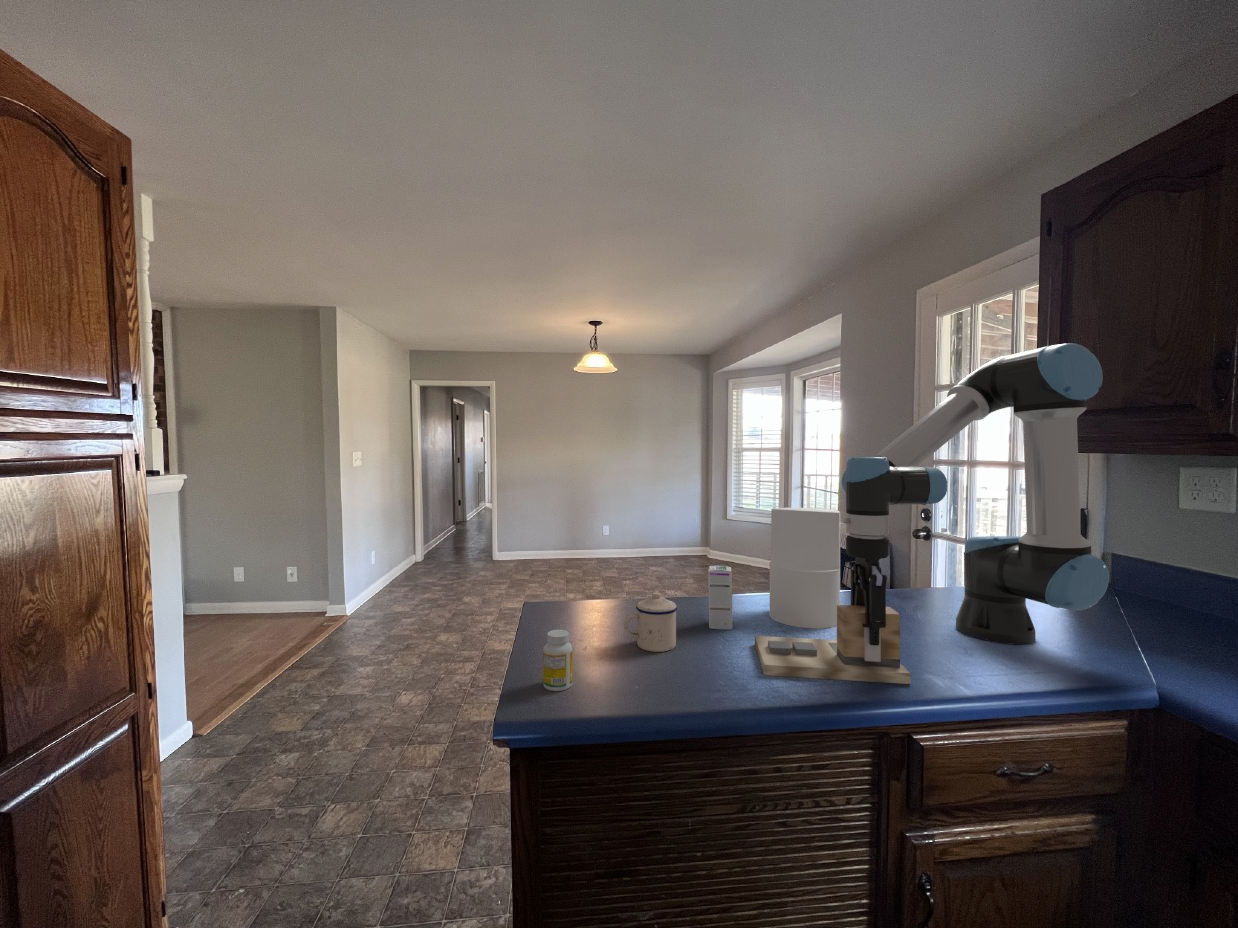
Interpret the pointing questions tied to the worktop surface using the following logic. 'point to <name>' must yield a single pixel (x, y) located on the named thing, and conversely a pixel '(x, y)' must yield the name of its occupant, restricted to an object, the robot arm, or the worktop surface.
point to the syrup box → (720, 597)
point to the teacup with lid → (654, 624)
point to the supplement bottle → (557, 661)
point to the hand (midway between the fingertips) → (867, 654)
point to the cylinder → (805, 567)
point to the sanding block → (853, 637)
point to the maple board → (822, 663)
